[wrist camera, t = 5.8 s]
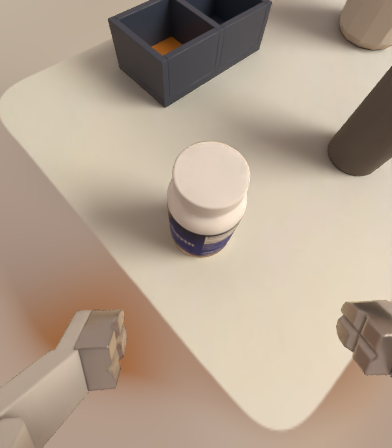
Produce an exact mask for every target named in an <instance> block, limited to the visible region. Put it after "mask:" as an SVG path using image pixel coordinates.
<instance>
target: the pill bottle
mask: <svg viewBox="0 0 392 448" xmlns="http://www.w3.org/2000/svg"><path fill="white" fill-rule="evenodd" d="M249 184H250V170H249V167H248V164H247V162H246V161H245V159H244V158H243V156H242V155H241V154H240V153H239V152H238V151H236V150H235V149H234V148H232V147H230V146H228V145H226V144H224V143H220V142H213V141H206V142H200V143H196V144H193V145H191V146H189V147H187V148H186V149H185V150H183V151H182V152H181V153H180V154H179V156H178V157H177V159H176V161H175V163H174V166H173V172H172V180H171V182H170V184H169V187H168V191H167V206H168V214H169V222H170V229H171V235H172V238H173V240H174V242H175V244H176V245H177V247H178V248H179V249H180V250H181V251H183V252H184V253H186V254H188V255H190V256H193V257H209V256H212V255H214V254H216V253H218V252H219V251H221V250H222V249H223V248H224V246H225V245H226V244H227V242H228V241H229V239H230V237H231V236H232V234H233V232H234V231H235V229H236V227H237V225H238V224H239V222H240V220H241V219H242V217H243V215H244V212H245V209H246V205H247V193H246V192H247V190H248V187H249Z"/></svg>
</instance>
